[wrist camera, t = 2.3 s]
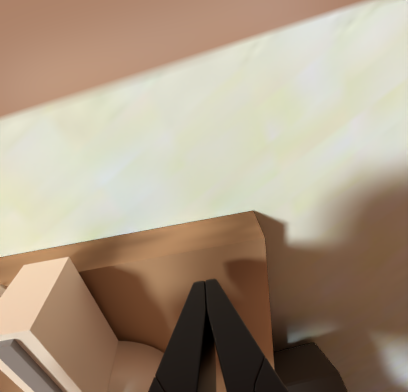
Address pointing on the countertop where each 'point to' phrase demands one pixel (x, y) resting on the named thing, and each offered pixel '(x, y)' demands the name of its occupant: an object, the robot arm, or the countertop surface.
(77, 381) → the cream elongated piece
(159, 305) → the panel
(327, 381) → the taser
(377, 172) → the countertop surface
